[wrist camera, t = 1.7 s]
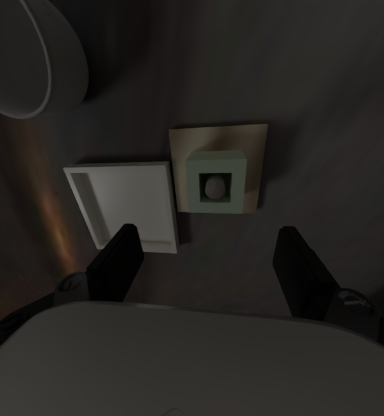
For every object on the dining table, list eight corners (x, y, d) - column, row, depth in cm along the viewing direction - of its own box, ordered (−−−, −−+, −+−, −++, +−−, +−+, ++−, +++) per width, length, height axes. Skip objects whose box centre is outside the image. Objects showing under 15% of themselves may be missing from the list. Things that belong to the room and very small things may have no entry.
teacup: (101, 17, 18) (28, -43, 11) (104, 126, 24) (56, 131, 17) (-23, -16, 18) (-171, -97, 11) (8, 100, 24) (-80, 94, 17)
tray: (169, 161, 25) (165, 165, 23) (179, 245, 32) (176, 253, 30) (74, 164, 27) (63, 167, 25) (104, 241, 34) (97, 248, 32)
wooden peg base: (266, 123, 21) (283, 127, 15) (254, 209, 26) (264, 235, 21) (170, 129, 22) (154, 133, 17) (179, 208, 28) (169, 232, 22)
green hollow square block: (241, 150, 22) (247, 159, 17) (238, 196, 25) (242, 213, 20) (191, 151, 22) (185, 160, 18) (194, 195, 25) (189, 212, 21)
